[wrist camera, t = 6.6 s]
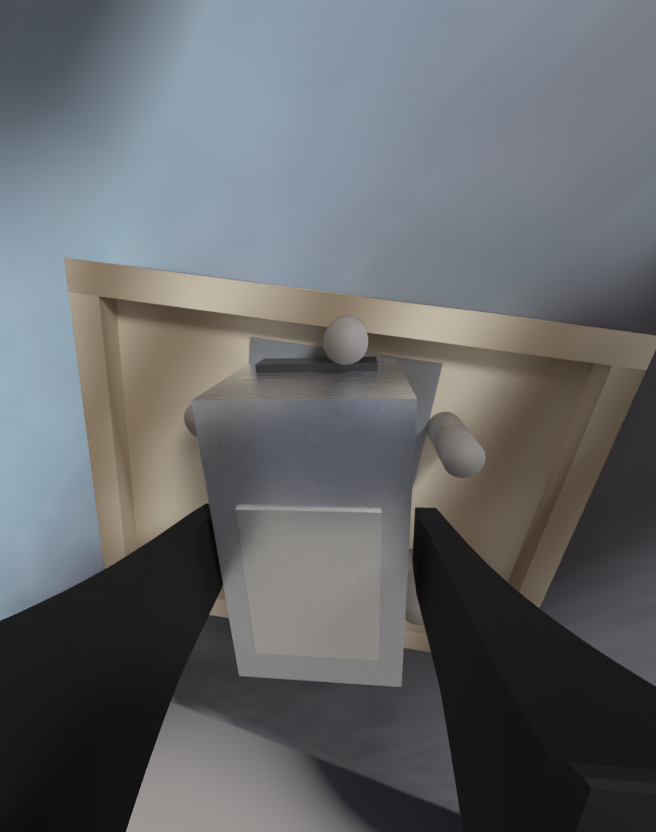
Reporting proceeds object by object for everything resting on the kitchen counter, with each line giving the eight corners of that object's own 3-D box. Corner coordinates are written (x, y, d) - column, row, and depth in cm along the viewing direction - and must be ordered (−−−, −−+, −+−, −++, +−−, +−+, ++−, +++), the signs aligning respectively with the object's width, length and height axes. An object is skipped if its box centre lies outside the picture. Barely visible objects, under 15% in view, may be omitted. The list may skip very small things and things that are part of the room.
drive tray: (613, 329, 12) (719, 345, 8) (495, 624, 17) (531, 711, 13) (108, 263, 13) (12, 252, 9) (135, 564, 17) (79, 632, 14)
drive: (396, 352, 11) (418, 388, 7) (389, 572, 15) (401, 690, 10) (249, 355, 12) (187, 391, 8) (272, 568, 15) (237, 679, 11)
